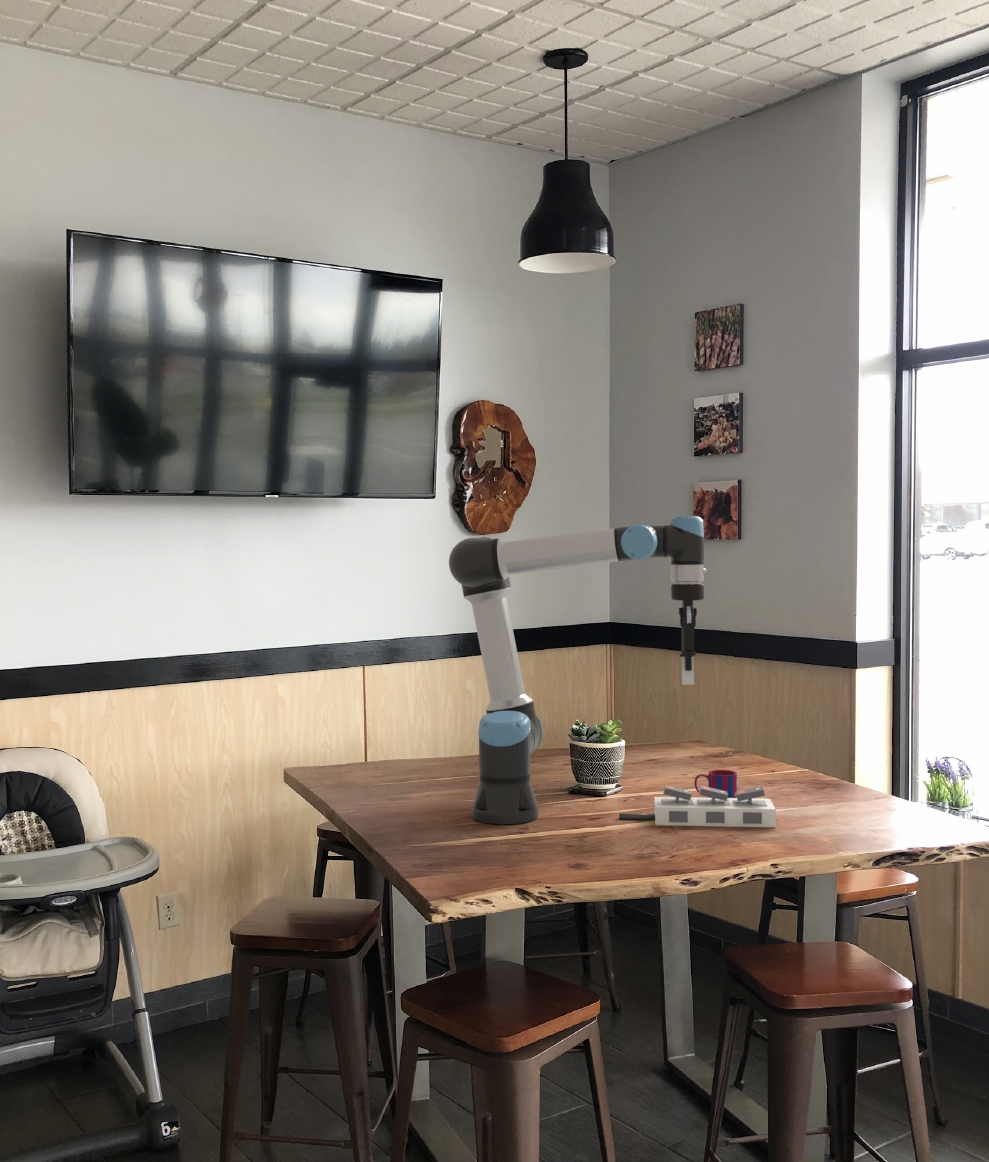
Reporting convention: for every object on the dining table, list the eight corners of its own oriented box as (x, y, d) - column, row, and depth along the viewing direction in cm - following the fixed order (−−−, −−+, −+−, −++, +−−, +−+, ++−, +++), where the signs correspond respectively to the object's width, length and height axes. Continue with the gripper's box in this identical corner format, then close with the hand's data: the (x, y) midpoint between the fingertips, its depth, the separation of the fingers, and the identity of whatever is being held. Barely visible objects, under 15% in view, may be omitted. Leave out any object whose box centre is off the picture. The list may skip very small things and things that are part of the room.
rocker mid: (699, 794, 250) (701, 788, 250) (698, 791, 254) (700, 785, 254) (726, 801, 250) (728, 794, 250) (725, 797, 253) (726, 791, 253)
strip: (619, 824, 249) (618, 800, 249) (619, 813, 259) (619, 790, 259) (775, 827, 245) (775, 803, 245) (769, 816, 255) (769, 793, 255)
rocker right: (738, 801, 249) (736, 795, 249) (736, 797, 253) (734, 791, 253) (764, 795, 249) (763, 789, 249) (762, 792, 252) (761, 785, 252)
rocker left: (663, 794, 251) (665, 787, 251) (663, 790, 255) (664, 784, 255) (690, 800, 251) (691, 794, 250) (689, 796, 254) (690, 790, 254)
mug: (736, 804, 267) (736, 775, 267) (693, 802, 269) (693, 774, 269) (737, 797, 274) (737, 770, 273) (695, 796, 276) (695, 768, 276)
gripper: (705, 584, 254) (706, 688, 254) (702, 581, 266) (702, 680, 267) (672, 584, 254) (672, 687, 255) (670, 581, 267) (670, 680, 268)
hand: (688, 684), depth 261 cm, fingers closed
